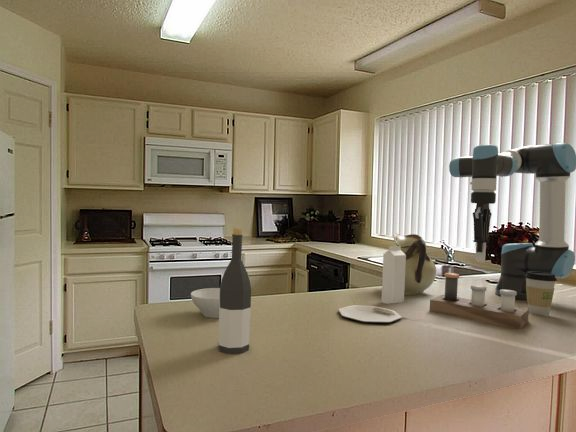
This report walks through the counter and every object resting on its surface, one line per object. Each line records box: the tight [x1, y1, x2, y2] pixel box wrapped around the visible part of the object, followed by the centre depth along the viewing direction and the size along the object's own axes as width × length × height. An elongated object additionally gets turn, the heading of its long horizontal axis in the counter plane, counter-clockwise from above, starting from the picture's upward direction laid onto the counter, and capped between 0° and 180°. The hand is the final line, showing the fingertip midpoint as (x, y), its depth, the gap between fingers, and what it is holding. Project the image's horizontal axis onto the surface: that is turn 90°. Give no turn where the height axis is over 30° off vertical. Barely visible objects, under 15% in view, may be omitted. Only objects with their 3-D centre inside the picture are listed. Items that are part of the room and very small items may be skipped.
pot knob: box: [444, 272, 460, 301], centre depth 143 cm, size 5×5×9 cm
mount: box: [429, 294, 529, 330], centre depth 137 cm, size 12×28×5 cm, turn 49°
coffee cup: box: [525, 271, 558, 317], centre depth 146 cm, size 10×10×15 cm
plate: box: [337, 304, 402, 324], centre depth 136 cm, size 20×20×2 cm
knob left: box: [499, 289, 517, 312], centre depth 131 cm, size 5×5×9 cm
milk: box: [381, 245, 406, 305], centre depth 155 cm, size 6×6×22 cm
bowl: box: [190, 287, 220, 319], centre depth 131 cm, size 16×16×7 cm
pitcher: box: [393, 233, 437, 296], centre depth 176 cm, size 22×24×25 cm
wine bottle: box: [217, 228, 252, 355], centre depth 101 cm, size 8×8×30 cm
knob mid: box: [470, 284, 487, 307], centre depth 137 cm, size 5×5×9 cm
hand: (480, 261), depth 137 cm, fingers closed
